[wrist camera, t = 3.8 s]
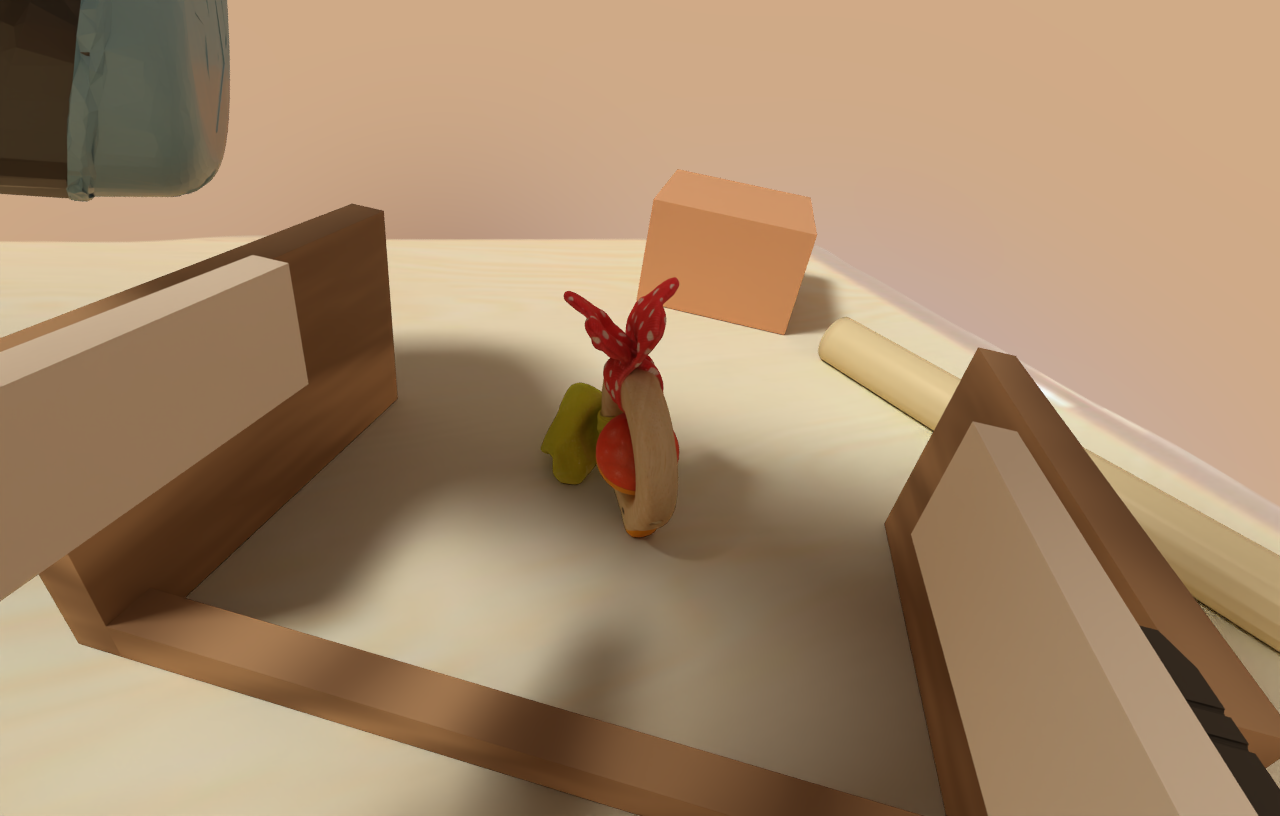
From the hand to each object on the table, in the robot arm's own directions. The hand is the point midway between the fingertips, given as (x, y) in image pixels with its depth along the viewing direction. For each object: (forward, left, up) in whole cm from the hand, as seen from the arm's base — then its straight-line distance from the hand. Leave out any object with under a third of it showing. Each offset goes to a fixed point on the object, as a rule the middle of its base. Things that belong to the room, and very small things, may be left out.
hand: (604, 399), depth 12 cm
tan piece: (+21, +22, -13) cm, 34 cm away
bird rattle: (-1, +12, -13) cm, 17 cm away
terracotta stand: (+1, +41, -13) cm, 43 cm away
